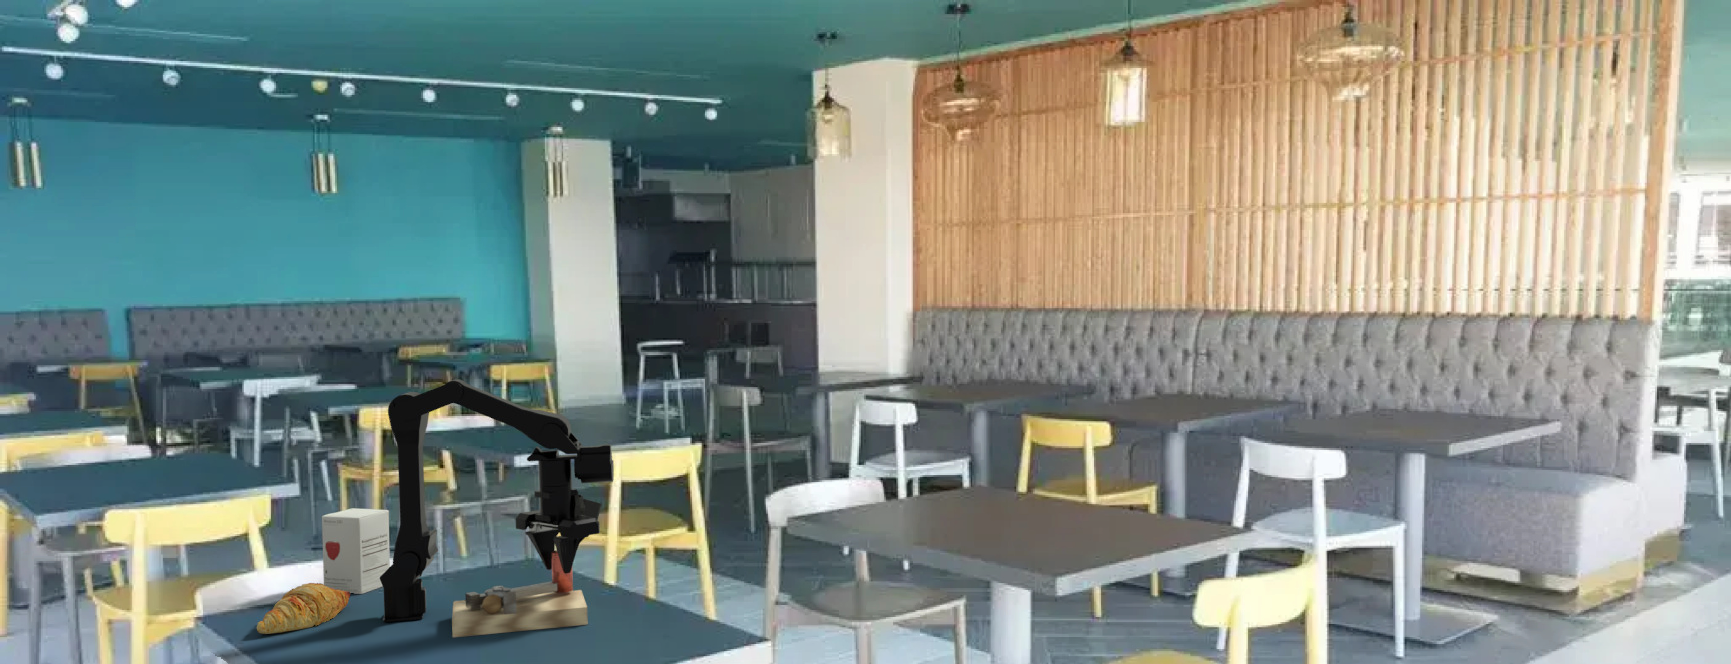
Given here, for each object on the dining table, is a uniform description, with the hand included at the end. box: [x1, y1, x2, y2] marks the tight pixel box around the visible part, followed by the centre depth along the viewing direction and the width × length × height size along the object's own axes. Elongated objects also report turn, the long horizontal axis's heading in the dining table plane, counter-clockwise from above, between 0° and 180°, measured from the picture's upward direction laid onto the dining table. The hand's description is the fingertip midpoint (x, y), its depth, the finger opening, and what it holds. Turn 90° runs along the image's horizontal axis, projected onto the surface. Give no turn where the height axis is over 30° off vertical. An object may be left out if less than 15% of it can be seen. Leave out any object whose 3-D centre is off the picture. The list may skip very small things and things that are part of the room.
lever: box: [465, 549, 574, 610], centre depth 215 cm, size 19×4×7 cm, turn 129°
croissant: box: [256, 582, 351, 635], centre depth 215 cm, size 21×10×8 cm, turn 164°
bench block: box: [451, 589, 589, 638], centre depth 213 cm, size 22×13×6 cm, turn 108°
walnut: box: [483, 594, 502, 614], centre depth 207 cm, size 3×3×3 cm
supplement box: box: [321, 507, 391, 595], centre depth 240 cm, size 9×9×15 cm
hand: (558, 571), depth 220 cm, fingers open, 5 cm apart
